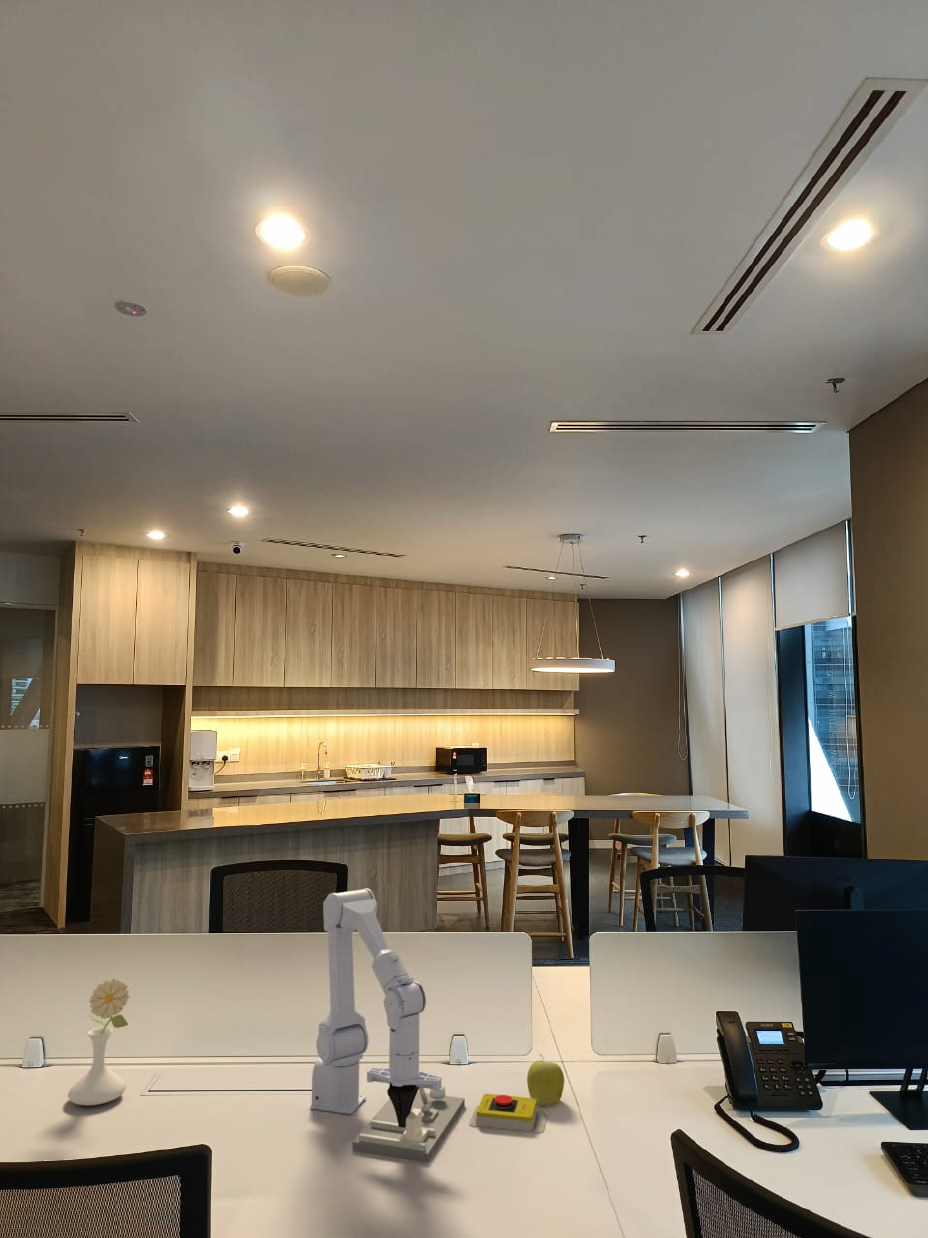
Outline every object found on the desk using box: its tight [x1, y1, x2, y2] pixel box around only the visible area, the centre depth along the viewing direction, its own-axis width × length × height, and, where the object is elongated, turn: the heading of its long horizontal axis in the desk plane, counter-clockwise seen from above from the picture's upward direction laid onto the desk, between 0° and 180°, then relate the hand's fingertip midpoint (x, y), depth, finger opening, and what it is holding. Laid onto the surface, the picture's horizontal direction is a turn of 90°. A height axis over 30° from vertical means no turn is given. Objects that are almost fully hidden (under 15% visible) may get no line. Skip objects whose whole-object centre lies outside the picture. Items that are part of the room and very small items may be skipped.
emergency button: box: [468, 1093, 548, 1134], centre depth 175 cm, size 9×4×15 cm
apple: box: [526, 1054, 565, 1107], centre depth 183 cm, size 8×8×10 cm
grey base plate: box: [351, 1091, 466, 1163], centre depth 171 cm, size 15×24×2 cm, turn 164°
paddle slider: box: [400, 1108, 427, 1143], centre depth 163 cm, size 4×4×5 cm
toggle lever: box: [418, 1088, 433, 1114], centre depth 173 cm, size 2×2×8 cm
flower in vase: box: [67, 978, 130, 1106], centre depth 184 cm, size 13×11×25 cm
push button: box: [429, 1084, 446, 1099], centre depth 179 cm, size 3×3×2 cm
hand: (403, 1125), depth 163 cm, fingers closed
